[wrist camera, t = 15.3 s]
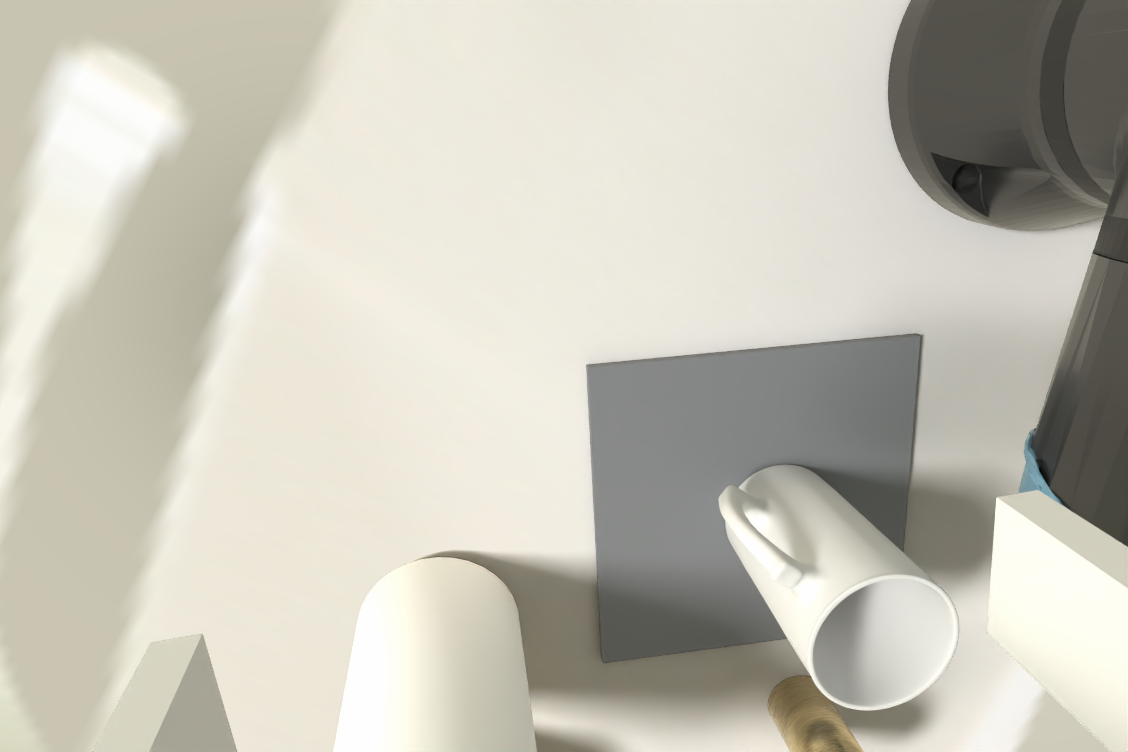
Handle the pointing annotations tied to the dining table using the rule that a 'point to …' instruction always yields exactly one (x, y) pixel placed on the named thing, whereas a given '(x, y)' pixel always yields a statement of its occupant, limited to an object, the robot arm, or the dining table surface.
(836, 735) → the spacer posts
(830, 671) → the mug
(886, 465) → the mat
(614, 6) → the dining table surface
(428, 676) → the alcohol
